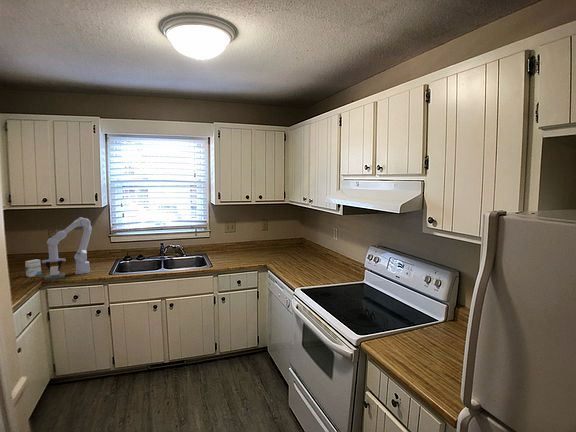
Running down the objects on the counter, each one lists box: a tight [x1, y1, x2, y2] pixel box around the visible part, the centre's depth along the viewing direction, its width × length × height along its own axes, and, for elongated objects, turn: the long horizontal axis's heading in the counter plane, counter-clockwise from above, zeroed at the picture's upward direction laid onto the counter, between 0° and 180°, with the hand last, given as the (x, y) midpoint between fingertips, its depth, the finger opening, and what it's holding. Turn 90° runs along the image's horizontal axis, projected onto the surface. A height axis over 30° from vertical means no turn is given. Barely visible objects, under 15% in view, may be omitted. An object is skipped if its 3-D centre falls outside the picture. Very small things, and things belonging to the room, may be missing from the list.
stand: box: [43, 272, 66, 281], centre depth 260 cm, size 12×10×2 cm
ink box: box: [24, 259, 42, 278], centre depth 264 cm, size 8×5×12 cm, turn 152°
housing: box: [49, 265, 60, 275], centre depth 259 cm, size 7×5×5 cm
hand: (54, 271), depth 259 cm, fingers closed on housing, 5 cm apart
